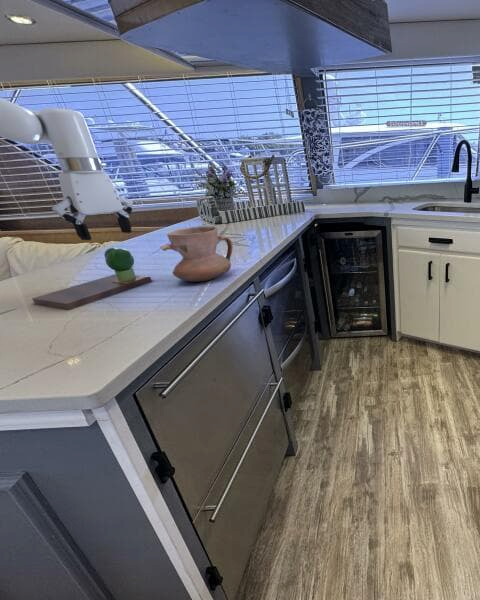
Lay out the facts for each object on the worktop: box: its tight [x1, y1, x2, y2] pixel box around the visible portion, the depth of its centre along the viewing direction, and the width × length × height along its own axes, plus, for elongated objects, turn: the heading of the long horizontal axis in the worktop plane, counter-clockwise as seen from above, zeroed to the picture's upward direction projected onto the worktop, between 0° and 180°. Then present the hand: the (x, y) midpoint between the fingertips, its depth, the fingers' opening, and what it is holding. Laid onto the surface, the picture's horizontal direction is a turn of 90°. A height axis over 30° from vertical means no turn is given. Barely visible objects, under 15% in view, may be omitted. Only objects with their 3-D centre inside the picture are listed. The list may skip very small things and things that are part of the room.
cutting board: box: [31, 273, 153, 310], centre depth 87 cm, size 20×14×2 cm
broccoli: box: [104, 247, 136, 282], centre depth 89 cm, size 6×7×9 cm
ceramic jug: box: [160, 225, 234, 283], centre depth 93 cm, size 18×14×14 cm
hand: (107, 235), depth 86 cm, fingers open, 9 cm apart
